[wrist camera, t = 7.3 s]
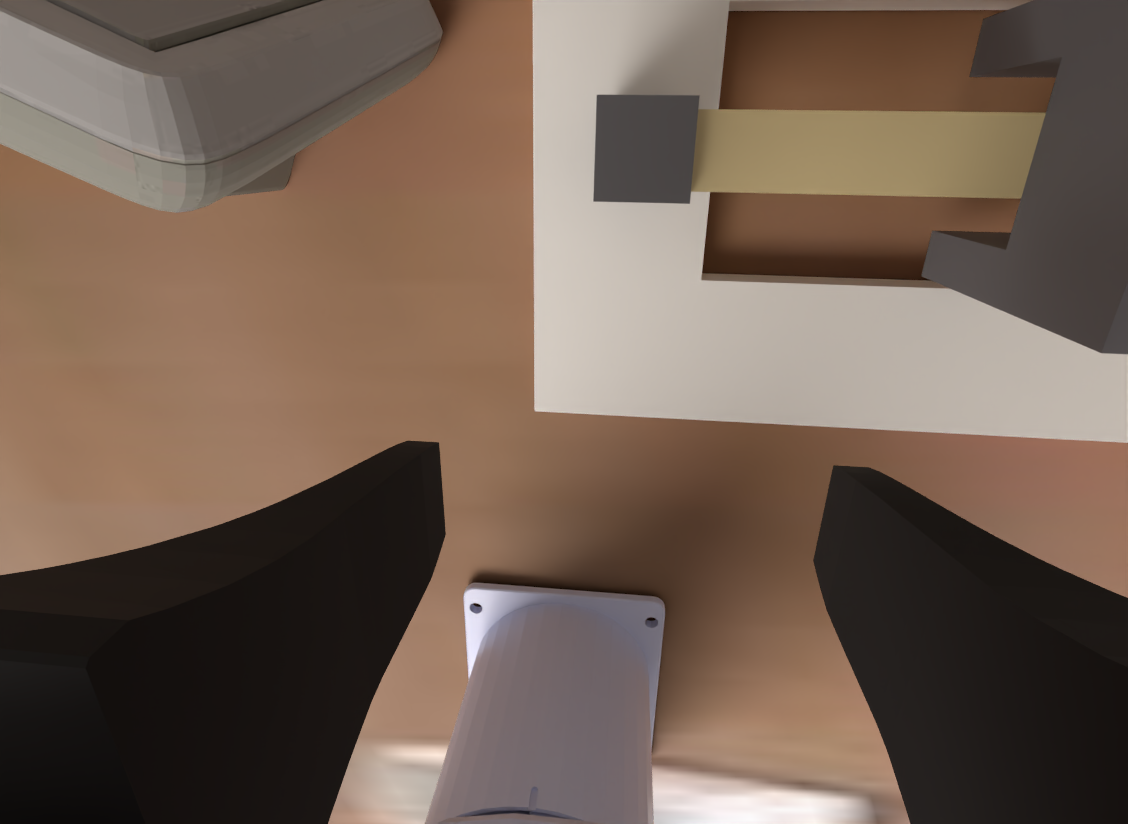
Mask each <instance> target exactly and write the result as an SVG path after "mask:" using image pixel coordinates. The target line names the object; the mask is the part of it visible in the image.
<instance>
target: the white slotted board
mask: <svg viewBox="0 0 1128 824" xmlns="http://www.w3.org/2000/svg"><path fill="white" fill-rule="evenodd" d="M1030 1H1033V0H533V171H534V397H535V411H539V412H557V413H576V414H595V415H614V416H633V417H652V418H671V419H690V420H708V421H727V422H746V423H765V424H784V425H803V426H822V427H841V428H859V429H878V430H897V431H916V432H935V433H954V434H973V435H991V436H1010V437H1029V438H1048V439H1067V440H1086V441H1105V442H1124V443H1128V354H1107V353H1099V352H1097V351H1095V350H1092V349H1090V348H1088V347H1085V346H1083V345H1081V344H1078V343H1076V342H1074V341H1071V340H1069V339H1067V338H1064V337H1062V336H1060V335H1057V334H1055V333H1053V332H1050V331H1048V330H1046V329H1043V328H1041V327H1039V326H1036V325H1034V324H1032V323H1029V322H1027V321H1025V320H1022V319H1020V318H1018V317H1015V316H1013V315H1011V314H1008V313H1006V312H1004V311H1001V310H999V309H997V308H994V307H992V306H990V305H987V304H985V303H983V302H980V301H978V300H976V299H973V298H971V297H969V296H966V295H964V294H962V293H959V292H957V291H955V290H952V289H950V288H948V287H945V286H943V285H941V284H938V283H936V282H934V281H927V280H896V279H866V278H835V277H804V276H774V275H743V274H712V273H702V267H703V257H704V248H705V238H706V228H707V218H708V208H709V198H710V192H734V193H780V194H827V195H874V196H921V197H968V198H1014V199H1021V197H1022V194H1023V190H1024V187H1025V183H1026V180H1027V176H1028V173H1029V169H1030V166H1031V162H1032V159H1033V156H1034V152H1035V149H1036V145H1037V142H1038V138H1039V135H1040V131H1041V128H1042V125H1043V121H1044V118H1045V114H1046V113H1033V112H933V111H832V110H731V109H719V100H720V90H721V81H722V71H723V61H724V51H725V41H726V32H727V22H728V12H729V11H855V10H1009V9H1011V8H1014V7H1017V6H1019V5H1022V4H1025V3H1027V2H1030Z"/></svg>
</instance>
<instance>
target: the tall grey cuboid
mask: <svg viewBox="0 0 1128 824" xmlns="http://www.w3.org/2000/svg"><path fill="white" fill-rule="evenodd" d="M969 77H1056V80H1055V83H1054V87H1053V90H1052V93H1051V97H1050V100H1049V104H1048V107H1047V111H1046V114H1045V118H1044V121H1043V125H1042V128H1041V131H1040V135H1039V138H1038V142H1037V145H1036V149H1035V152H1034V156H1033V159H1032V162H1031V166H1030V169H1029V173H1028V176H1027V180H1026V183H1025V187H1024V190H1023V194H1022V197H1021V200H1020V204H1019V207H1018V211H1017V214H1016V218H1015V221H1014V225H1013V228H1012V231H1011V233H1001V232H962V231H932V234H931V238H930V242H929V246H928V251H927V255H926V259H925V263H924V267H923V271H922V275H921V276H922V277H924V278H927V279H929V280H931V281H934V282H936V283H938V284H941V285H943V286H945V287H948V288H950V289H952V290H955V291H957V292H959V293H962V294H964V295H966V296H969V297H971V298H973V299H976V300H978V301H980V302H983V303H985V304H987V305H990V306H992V307H994V308H997V309H999V310H1001V311H1004V312H1006V313H1008V314H1011V315H1013V316H1015V317H1018V318H1020V319H1022V320H1025V321H1027V322H1029V323H1032V324H1034V325H1036V326H1039V327H1041V328H1043V329H1046V330H1048V331H1050V332H1053V333H1055V334H1057V335H1060V336H1062V337H1064V338H1067V339H1069V340H1071V341H1074V342H1076V343H1078V344H1081V345H1083V346H1085V347H1088V348H1090V349H1092V350H1095V351H1097V352H1099V353H1107V354H1128V0H1033V1H1030V2H1027V3H1025V4H1022V5H1019V6H1017V7H1014V8H1011V9H1009V10H1006V11H1004V12H1001V13H998V14H996V15H993V16H990V17H988V18H985V19H983V22H982V27H981V31H980V35H979V39H978V43H977V47H976V51H975V56H974V60H973V64H972V68H971V72H970V76H969Z"/></svg>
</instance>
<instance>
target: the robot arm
mask: <svg viewBox="0 0 1128 824" xmlns="http://www.w3.org/2000/svg"><path fill="white" fill-rule="evenodd" d="M445 535H446V533H445V519H444V505H443V492H442V478H441V464H440V450H439V443H438V442H421V441H405V442H403V443H400V444H397V445H395V446H393V447H391V448H389V449H387V450H384V451H382V452H380V453H378V454H376V455H375V456H373V457H371V458H369V459H367V460H365V461H363V462H361V463H359V464H357V465H355V466H353V467H351V468H349V469H347V470H345V471H343V472H341V473H339V474H338V475H336V476H334V477H332V478H330V479H328V480H326V481H323V482H321V483H319V484H317V485H315V486H313V487H310V488H308V489H306V490H304V491H302V492H300V493H298V494H295V495H293V496H291V497H289V498H287V499H285V500H282V501H280V502H278V503H275V504H273V505H271V506H268V507H266V508H263V509H261V510H258V511H256V512H253V513H250V514H248V515H245V516H242V517H239V518H237V519H234V520H231V521H228V522H226V523H223V524H220V525H217V526H214V527H211V528H208V529H204V530H201V531H198V532H194V533H191V534H187V535H184V536H180V537H177V538H174V539H170V540H167V541H163V542H160V543H157V544H153V545H150V546H146V547H142V548H138V549H134V550H129V551H125V552H121V553H117V554H113V555H108V556H104V557H99V558H94V559H90V560H85V561H80V562H75V563H71V564H65V565H60V566H55V567H49V568H44V569H38V570H31V571H25V572H19V573H12V574H6V575H0V824H328V822H329V818H330V815H331V813H332V810H333V807H334V804H335V801H336V798H337V795H338V792H339V790H340V787H341V784H342V781H343V778H344V775H345V772H346V770H347V767H348V764H349V761H350V758H351V755H352V752H353V750H354V747H355V744H356V742H357V739H358V736H359V734H360V731H361V728H362V726H363V723H364V720H365V718H366V715H367V712H368V710H369V707H370V704H371V702H372V699H373V697H374V695H375V693H376V690H377V688H378V686H379V684H380V681H381V679H382V677H383V675H384V673H385V671H386V669H387V667H388V665H389V663H390V661H391V659H392V657H393V655H394V653H395V651H396V649H397V647H398V645H399V643H400V641H401V639H402V637H403V635H404V633H405V631H406V629H407V627H408V625H409V623H410V621H411V619H412V617H413V615H414V613H415V611H416V609H417V607H418V605H419V603H420V601H421V599H422V597H423V595H424V593H425V591H426V588H427V586H428V584H429V582H430V580H431V578H432V575H433V572H434V569H435V566H436V563H437V560H438V557H439V554H440V551H441V548H442V544H443V541H444V538H445ZM813 561H814V565H815V569H816V573H817V577H818V581H819V585H820V588H821V592H822V595H823V599H824V602H825V606H826V609H827V611H828V614H829V616H830V619H831V621H832V623H833V626H834V628H835V630H836V633H837V635H838V637H839V640H840V642H841V644H842V647H843V649H844V651H845V653H846V656H847V658H848V660H849V662H850V665H851V667H852V669H853V671H854V674H855V676H856V678H857V680H858V683H859V685H860V687H861V689H862V692H863V694H864V696H865V698H866V701H867V703H868V705H869V707H870V710H871V712H872V714H873V717H874V719H875V721H876V723H877V726H878V728H879V731H880V733H881V736H882V739H883V741H884V744H885V746H886V749H887V752H888V754H889V758H890V761H891V764H892V767H893V770H894V773H895V776H896V779H897V782H898V786H899V789H900V792H901V795H902V798H903V801H904V804H905V807H906V810H907V814H908V817H909V820H910V824H1128V598H1126V597H1124V596H1121V595H1119V594H1116V593H1114V592H1112V591H1109V590H1107V589H1105V588H1102V587H1100V586H1098V585H1096V584H1093V583H1091V582H1089V581H1087V580H1084V579H1082V578H1080V577H1077V576H1075V575H1073V574H1071V573H1068V572H1066V571H1064V570H1062V569H1059V568H1057V567H1055V566H1053V565H1051V564H1049V563H1047V562H1045V561H1043V560H1040V559H1038V558H1036V557H1034V556H1032V555H1030V554H1028V553H1026V552H1025V551H1023V550H1021V549H1019V548H1017V547H1015V546H1013V545H1011V544H1009V543H1007V542H1005V541H1003V540H1001V539H999V538H997V537H995V536H994V535H992V534H990V533H988V532H986V531H984V530H983V529H981V528H979V527H977V526H975V525H973V524H972V523H970V522H968V521H966V520H965V519H963V518H961V517H959V516H957V515H956V514H954V513H952V512H950V511H949V510H947V509H945V508H944V507H942V506H940V505H938V504H937V503H935V502H933V501H931V500H930V499H928V498H926V497H924V496H923V495H921V494H919V493H918V492H916V491H914V490H912V489H911V488H909V487H907V486H905V485H904V484H902V483H900V482H898V481H896V480H894V479H893V478H891V477H889V476H887V475H885V474H883V473H881V472H879V471H876V470H874V469H871V468H868V467H850V466H833V470H832V475H831V480H830V484H829V489H828V494H827V499H826V503H825V508H824V513H823V518H822V522H821V527H820V532H819V537H818V541H817V546H816V551H815V555H814V560H813ZM473 603H477V604H480V605H481V606H482V607H477V606H475V605H474V604H473ZM464 613H465V629H466V646H467V662H468V678H469V681H468V685H467V688H466V691H465V694H464V698H463V701H462V704H461V707H460V711H459V714H458V717H457V720H456V724H455V727H454V730H453V733H452V737H451V740H450V743H449V746H448V750H447V753H446V756H445V760H444V763H443V766H442V769H441V773H440V776H439V779H438V782H437V786H436V789H435V792H434V795H433V799H432V802H431V805H430V808H429V812H428V815H427V818H426V821H425V824H654V816H653V786H652V757H651V750H652V740H653V730H654V720H655V710H656V700H657V690H658V680H659V670H660V660H661V650H662V640H663V630H664V620H665V605H664V602H663V601H662V600H661V599H659V598H658V597H654V596H643V595H630V594H617V593H604V592H591V591H579V590H566V589H553V588H540V587H527V586H514V585H502V584H489V583H471V584H469V585H468V586H467V587H466V589H465V592H464ZM650 617H653V618H656V620H654V621H649V620H647V618H650Z"/></svg>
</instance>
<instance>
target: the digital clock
mask: <svg viewBox="0 0 1128 824" xmlns="http://www.w3.org/2000/svg"><path fill="white" fill-rule="evenodd" d="M442 34H443V31H442V28H441V26H440V23H439V21H438V19H437V17H436V14H435V12H434V10H433V8H432V6H431V4H430V1H429V0H0V144H2V145H4V146H7V147H9V148H11V149H13V150H16V151H18V152H20V153H22V154H25V155H27V156H29V157H31V158H34V159H36V160H38V161H40V162H43V163H45V164H47V165H49V166H52V167H54V168H56V169H58V170H61V171H63V172H65V173H68V174H70V175H72V176H74V177H77V178H79V179H81V180H83V181H86V182H88V183H90V184H92V185H95V186H97V187H99V188H101V189H104V190H106V191H108V192H111V193H113V194H115V195H117V196H120V197H123V198H125V199H128V200H130V201H133V202H135V203H138V204H140V205H143V206H147V207H150V208H153V209H157V210H160V211H168V212H186V211H193V210H196V209H199V208H202V207H205V206H208V205H210V204H212V203H214V202H216V201H217V200H219V199H221V198H223V197H225V196H232V195H241V194H250V193H259V192H267V191H276V190H283V189H284V188H285V187H286V185H287V182H288V180H289V177H290V174H291V170H292V166H293V161H294V157H295V154H296V153H298V152H299V151H301V150H302V149H304V148H306V147H307V146H309V145H310V144H312V143H314V142H315V141H317V140H318V139H320V138H322V137H323V136H325V135H326V134H328V133H330V132H331V131H333V130H334V129H336V128H338V127H339V126H341V125H342V124H344V123H346V122H347V121H349V120H350V119H352V118H354V117H355V116H357V115H358V114H360V113H362V112H363V111H365V110H366V109H368V108H370V107H371V106H373V105H374V104H376V103H378V102H379V101H381V100H382V99H384V98H386V97H387V96H389V95H390V94H392V93H394V92H395V91H397V90H398V89H400V88H401V87H403V86H405V85H406V84H408V83H409V82H410V81H412V80H413V79H414V78H416V77H417V76H418V75H419V74H420V73H421V72H422V71H423V70H425V69H426V68H427V67H428V66H429V64H430V63H431V61H432V60H433V58H434V56H435V55H436V53H437V51H438V48H439V45H440V42H441V37H442Z"/></svg>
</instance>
